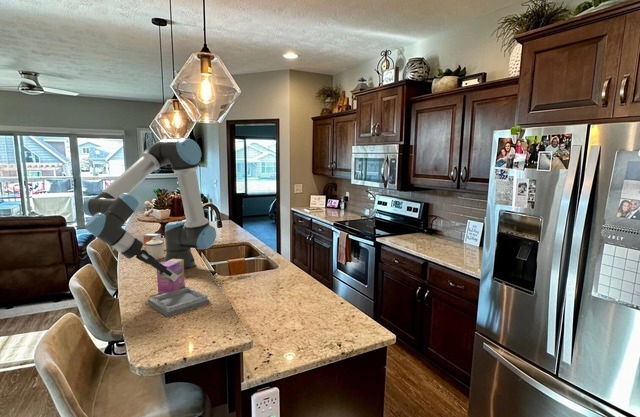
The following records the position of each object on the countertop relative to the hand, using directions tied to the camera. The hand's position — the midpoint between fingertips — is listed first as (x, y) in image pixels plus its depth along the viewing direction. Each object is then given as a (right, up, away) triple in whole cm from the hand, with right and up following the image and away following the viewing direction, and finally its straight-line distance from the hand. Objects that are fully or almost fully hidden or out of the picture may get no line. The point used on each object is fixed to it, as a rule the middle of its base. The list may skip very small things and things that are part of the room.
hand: (170, 274), depth 142 cm
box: (0, -7, +1) cm, 7 cm away
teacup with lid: (-32, -1, +50) cm, 60 cm away
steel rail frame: (+9, -7, -14) cm, 18 cm away
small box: (-40, +1, +67) cm, 78 cm away
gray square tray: (+9, -8, -14) cm, 18 cm away
